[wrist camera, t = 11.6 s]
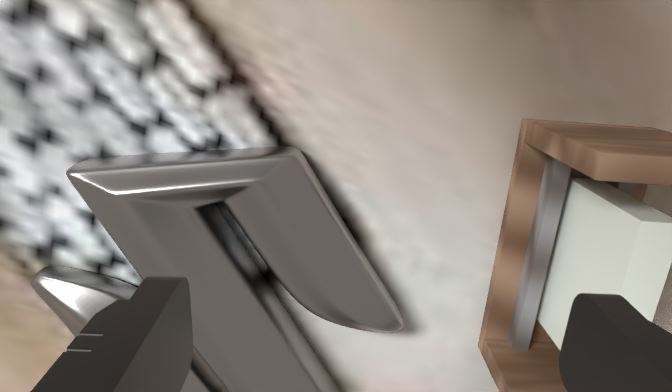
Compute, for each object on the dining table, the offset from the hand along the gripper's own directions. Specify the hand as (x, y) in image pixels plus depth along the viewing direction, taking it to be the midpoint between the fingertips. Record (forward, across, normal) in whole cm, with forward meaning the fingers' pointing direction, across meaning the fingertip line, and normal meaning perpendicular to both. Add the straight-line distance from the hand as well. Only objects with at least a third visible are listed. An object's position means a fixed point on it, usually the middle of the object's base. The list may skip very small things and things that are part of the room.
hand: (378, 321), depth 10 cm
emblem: (+27, +9, +16) cm, 32 cm away
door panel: (+25, -18, +10) cm, 33 cm away
